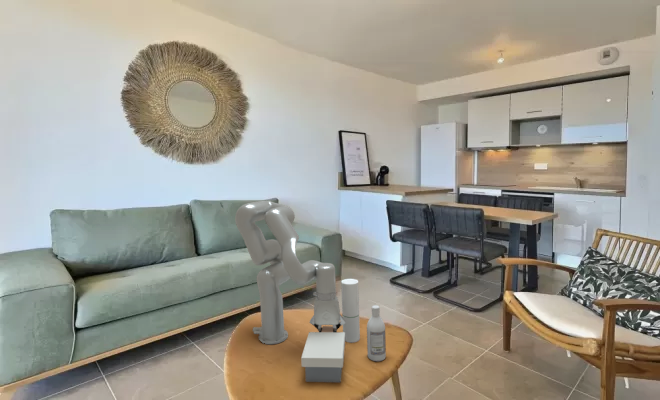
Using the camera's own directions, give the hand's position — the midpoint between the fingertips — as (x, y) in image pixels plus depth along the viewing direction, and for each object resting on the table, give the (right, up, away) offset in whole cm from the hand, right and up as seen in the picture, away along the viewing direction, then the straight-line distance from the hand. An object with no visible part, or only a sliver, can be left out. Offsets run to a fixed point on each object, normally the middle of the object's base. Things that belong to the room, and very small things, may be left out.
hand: (328, 338), depth 135 cm
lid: (-1, 0, -9) cm, 10 cm away
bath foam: (+19, -5, -5) cm, 20 cm away
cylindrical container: (+10, -4, +10) cm, 14 cm away
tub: (-1, -6, -11) cm, 13 cm away
